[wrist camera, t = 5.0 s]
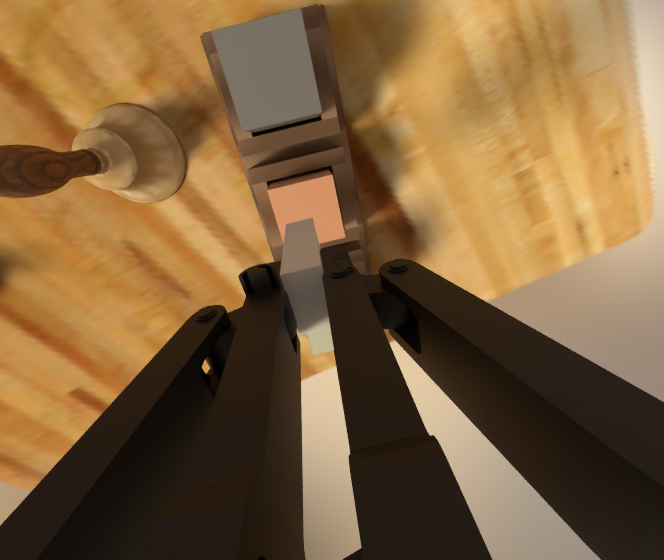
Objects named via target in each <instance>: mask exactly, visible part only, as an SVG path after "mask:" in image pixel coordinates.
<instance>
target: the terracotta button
mask: <svg viewBox="0 0 664 560" xmlns="http://www.w3.org/2000/svg"><path fill="white" fill-rule="evenodd" d="M267 192H268V195H269V198H270V202H271V205H272V208H273V211H274V215H275V218H276V221H277V224H278V228H279V231H280V234H281V237H282V240H283V244H284V237H285V229H286V224H288V223H293V222H297V221H301V220H305V219H309V218H313V221H314V225H315V229H316V233H317V237H318V241H319V244H320V243H324V242H329V241H333V240H337V239H341V238H345V233H344V228H343V223H342V218H341V213H340V209H339V204H338V199H337V194H336V189H335V184H334V180H333V175H332V173H331V172H330V171H329V169H328V168H327V167H324V168H320V169H316V170H312V171H308V172H304V173H299V174H295V175H291V176H287V177H283V178H279V179H275V180H273V181H272V183H271V185H270V186H269V188H268V190H267Z"/></svg>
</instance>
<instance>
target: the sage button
mask: <svg viewBox="0 0 664 560" xmlns="http://www.w3.org/2000/svg"><path fill="white" fill-rule="evenodd" d="M307 336H308V339H309V342H310V345H311V349H312V352H313V355H316V354H320V353H325V352H329V351H333V350H334V347H333V341H332V335H331V329H326V330H322V331H318V332H313V333H309V334H307Z"/></svg>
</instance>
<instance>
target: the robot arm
mask: <svg viewBox="0 0 664 560" xmlns="http://www.w3.org/2000/svg"><path fill="white" fill-rule="evenodd" d="M238 277H239V280H240V282H241V284H242V287H243V289H244V292H245V294H246V299H245V302H244V305H243V307H241V308H239V309H236V310H234V311H232V312H229V313H227V311H226V309H225V307H224V306H222V305H213V306H207V307H205V308H202V309H200V310H199V311H198V312H196V313H194V314H193V315H192V316H191V317H190V318H189V319H188V320H187V321H186V322H185V323H184V324H183V326H182V327H181V328H180V329H179V330H178V331H177V332H176V333H175V334H174V335H173V337H172V338H171V339H170V340H169V341H168V342H167V343H166V344H165V345H164V346H163V348H162V349H161V350H160V351H159V352H158V353H157V354H156V355H155V356H154V357H153V358H152V360H151V361H150V362H149V363H148V364H147V365H146V366H145V367H144V368H143V369H142V371H141V372H140V373H139V374H138V375H137V376H136V377H135V378H134V379H133V380H132V382H131V383H130V384H129V385H128V386H127V387H126V388H125V389H124V390H123V391H122V393H121V394H120V395H119V396H118V397H117V398H116V399H115V400H114V401H113V402H112V404H111V405H110V406H109V407H108V408H107V409H106V410H105V411H104V412H103V413H102V415H101V416H100V417H99V418H98V419H97V420H96V421H95V422H94V423H93V424H92V426H91V427H90V428H89V429H88V430H87V431H86V432H85V433H84V434H83V435H82V437H81V438H80V439H79V440H78V441H77V442H76V443H75V444H74V445H73V446H72V448H71V449H70V450H69V451H68V452H67V453H66V454H65V455H64V456H63V457H62V459H61V460H60V461H59V462H58V463H57V464H56V465H55V466H54V467H53V468H52V470H51V471H50V472H49V473H48V474H47V475H46V476H45V477H44V478H43V479H42V481H41V482H40V483H39V484H38V485H37V486H36V487H35V488H34V489H33V490H32V492H31V493H30V494H29V495H28V496H27V497H26V498H25V499H24V500H23V501H22V503H21V504H20V505H19V506H18V507H17V508H16V509H15V510H14V511H13V512H12V514H11V515H10V516H9V517H8V518H7V519H6V520H5V521H4V522H3V524H2V525H1V526H0V560H306V559H305V552H304V541H303V540H304V539H303V479H302V422H301V361H300V341H299V338H298V335H297V328H298V331H299V334H300V336H301V335H305V334H309V333H313V332H318V331H322V330H326V329H331V335H332V341H333V347H334V354H335V360H336V366H337V372H338V378H339V384H340V391H341V397H342V403H343V409H344V415H345V421H346V428H347V433H348V440H349V447H350V455H349V466H350V473H351V480H352V487H353V494H354V500H355V507H356V512H357V520H358V526H359V533H360V540H361V546H362V548H361V549H359V550H358V551H356V552H354V553H353V554H351V555H349V556H348V557H346V558H344V559H343V560H492V558H491V556H490V554H489V551H488V549H487V547H486V545H485V543H484V540H483V538H482V536H481V534H480V531H479V529H478V527H477V525H476V523H475V520H474V518H473V516H472V514H471V511H470V509H469V507H468V505H467V503H466V500H465V498H464V496H463V494H462V491H461V490H460V487H459V485H458V483H457V480H456V478H455V476H454V474H453V472H452V469H451V467H450V465H449V463H448V460H447V458H446V456H445V454H444V452H443V450H442V448H441V446H440V444H439V442H438V441H437V439H436V438H435V436H434V435H433V436H430V435H429V434H428V432H427V430H426V428H425V426H424V424H423V421H422V419H421V417H420V414H419V412H418V410H417V407H416V405H415V403H414V401H413V398H412V396H411V393H410V391H409V388H408V386H407V384H406V381H405V379H404V377H403V374H402V372H401V370H400V367H399V365H398V363H397V360H396V358H395V356H394V353H393V351H392V349H391V346H390V344H389V342H388V339H387V337H386V335H385V332H384V330H383V329H388V330H389V333H390V335H391V336H392V337H393V338H394V339H395V340H396V341H397V343H398V344H400V346H401V347H402V348H403V349H404V350H405V351H406V352H407V353H408V354H409V355H410V356H411V357H412V358H413V360H414V361H415V362H416V363H417V364H418V365H419V366H420V367H421V368H422V369H423V370H424V371H425V372H426V374H427V375H428V376H429V377H430V378H431V379H432V380H433V381H434V382H435V383H436V384H437V385H438V386H439V387H440V389H441V390H442V391H443V392H444V393H445V394H446V395H447V396H448V397H449V398H450V399H451V400H452V401H453V402H454V403H455V405H456V406H457V407H458V408H459V409H460V410H461V411H462V412H463V413H464V414H465V415H466V416H467V417H468V419H469V420H470V421H471V422H472V423H473V424H474V425H475V426H476V427H477V428H478V429H479V430H480V431H481V432H482V434H484V436H485V437H486V438H487V439H488V440H489V441H490V442H491V443H492V444H493V445H494V446H495V447H496V448H497V449H498V450H499V452H500V453H501V454H502V455H503V456H504V457H505V458H506V459H507V460H508V461H509V462H510V463H511V464H512V466H513V467H514V468H515V469H516V470H517V471H518V472H519V473H520V474H521V475H522V476H523V477H524V478H525V480H526V481H527V482H528V483H529V484H530V485H531V486H532V487H533V488H534V489H535V490H536V491H537V492H538V493H539V494H540V496H541V497H542V498H543V499H544V500H545V501H546V502H547V503H548V504H549V505H550V506H551V507H552V508H553V509H554V511H555V512H556V513H557V514H558V515H559V516H560V517H561V518H562V519H563V520H564V521H565V522H566V523H567V524H568V525H569V527H570V528H571V529H572V530H573V531H574V532H575V533H576V534H577V535H578V536H579V537H580V538H581V539H582V541H583V542H584V543H585V544H586V545H587V546H588V547H589V548H590V549H591V550H592V551H593V552H594V553H595V554H596V555H597V556H598V557H599V558H600V559H601V560H664V402H662V401H660V400H658V399H657V398H655V397H653V396H652V395H650V394H648V393H646V392H645V391H643V390H641V389H639V388H638V387H636V386H634V385H632V384H630V383H629V382H627V381H625V380H623V379H622V378H620V377H618V376H616V375H614V374H613V373H611V372H609V371H607V370H606V369H604V368H602V367H600V366H598V365H597V364H595V363H593V362H591V361H590V360H588V359H586V358H584V357H583V356H581V355H579V354H577V353H576V352H574V351H572V350H570V349H568V348H567V347H565V346H563V345H561V344H560V343H558V342H556V341H554V340H553V339H551V338H549V337H547V336H545V335H544V334H542V333H540V332H538V331H536V330H535V329H533V328H531V327H530V326H528V325H526V324H524V323H522V322H521V321H518V320H517V319H515V318H514V317H512V316H510V315H508V314H507V313H504V312H503V311H501V310H499V309H498V308H496V307H494V306H492V305H491V304H489V303H487V302H485V301H484V300H482V299H480V298H478V297H476V296H475V295H473V294H471V293H469V292H468V291H466V290H464V289H462V288H461V287H459V286H457V285H455V284H453V283H452V282H450V281H448V280H446V279H445V278H443V277H441V276H439V275H438V274H436V273H434V272H432V271H430V270H429V269H427V268H425V267H423V266H422V265H420V264H418V263H416V262H414V261H411V260H405V259H399V260H398V259H395V260H393V261H390V262H387V263H385V264H383V265H382V266H381V267H380V269H379V275H363V274H360V273H359V271H358V269H357V268H356V267H355V266H353V264H352V261H351V259H350V257H349V254H348V251H347V249H346V248H345V247H343V246H341V245H338V246H334V247H330V248H326V249H322V250H321V248H320V244H319V241H318V237H317V233H316V229H315V225H314V221H313V218H309V219H305V220H301V221H297V222H293V223H288V224H286V229H285V237H284V245H283V253H282V260H280V261H276V262H272V263H268V264H259V265H256V266H253V267H250V268H248V269H246V270H244V271H243V272H242V273H241V274H240V275H239V276H238ZM205 359H206V361H207V363H208V365H209V367H210V370H209V371H208V373H207V374H206V373H205V372H204V371H203V369H202V365H203V362H204V360H205Z"/></svg>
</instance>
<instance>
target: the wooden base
mask: <svg viewBox="0 0 664 560" xmlns="http://www.w3.org/2000/svg"><path fill="white" fill-rule="evenodd" d="M301 12H302V16H303V21H304V26H305V31H306V36H307V41H308V46H309V51H310V56H311V60H312V65H313V70H314V75H315V80H316V85H317V90H318V95H319V100H320V104H321V109H322V113H321V114H320V115H319V116H318V117H316V118H311V119H307V120H303V121H299V122H295V123H291V124H287V125H283V126H279V127H275V128H271V129H267V130H263V131H259V132H243V131H242V128H241V125H240V121H239V118H238V115H237V112H236V109H235V106H234V102H233V99H232V96H231V93H230V90H229V87H228V84H227V80H226V77H225V74H224V71H223V68H222V65H221V61H220V58H219V55H218V52H217V49H216V46H215V43H214V39H213V36H212V33H211V31H209V32H205V33H202V34H203V35H201V36H200V38H201V41H202V44H203V47H204V50H205V53H206V56H207V59H208V62H209V65H210V68H211V71H212V74H213V77H214V80H215V83H216V86H217V89H218V92H219V95H220V98H221V101H222V104H223V107H224V110H225V113H226V116H227V119H228V122H229V125H230V128H231V131H232V134H233V137H234V140H235V143H236V146H237V150H238V153H239V156H240V159H241V162H242V165H243V168H244V171H245V174H246V177H247V180H248V183H249V186H250V189H251V192H252V195H253V198H254V201H255V204H256V207H257V210H258V213H259V216H260V219H261V222H262V225H263V228H264V231H265V234H266V237H267V240H268V243H269V246H270V249H271V252H272V255H273V258H274V261H275V262H276V261H280V260H282V253H283V245H284V244H283V240H282V237H281V234H280V231H279V228H278V224H277V221H276V218H275V215H274V211H273V208H272V205H271V202H270V198H269V195H268V192H267V190H268V188H269V186H270V185H271V183H272V181H273V180H275V179H279V178H283V177H287V176H291V175H295V174H299V173H304V172H308V171H312V170H316V169H320V168H324V167H327V168H328V169H329V171H330V172H331V173H332V175H333V180H334V184H335V189H336V194H337V199H338V204H339V209H340V213H341V218H342V223H343V228H344V233H345V238H341V239H337V240H333V241H329V242H324V243H320V248H321V250H322V249H326V248H330V247H334V246H338V245H341V246H343V247H345V248H346V249H347V251H348V254H349V257H350V259H351V261H352V264H353V266H355V267H356V268H357V269H358V271H359V273H360V274H363V275H372V273H371V267H370V261H369V256H368V250H367V245H366V239H365V233H364V228H363V222H362V216H361V211H360V205H359V199H358V194H357V188H356V182H355V177H354V171H353V166H352V160H351V154H350V149H349V143H348V137H347V132H346V126H345V120H344V115H343V109H342V103H341V98H340V92H339V87H338V81H337V75H336V70H335V64H334V58H333V53H332V47H331V41H330V36H329V30H328V24H327V19H326V13H325V8H324V5H320V6H317V4H316V5H312V6H308V7H304V8H301ZM305 335H306V334H305ZM301 336H302V335H301Z"/></svg>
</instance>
